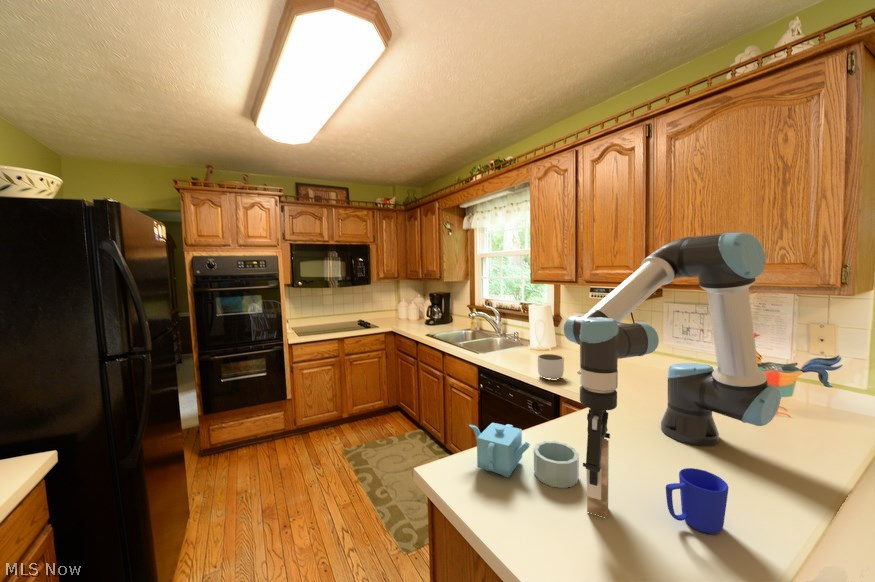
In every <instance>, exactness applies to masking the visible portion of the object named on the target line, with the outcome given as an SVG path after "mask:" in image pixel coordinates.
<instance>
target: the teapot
mask: <svg viewBox="0 0 875 582" xmlns="http://www.w3.org/2000/svg"><path fill="white" fill-rule="evenodd" d="M468 426H469V427H470V428H471V429H472V430H473V432H474V435H475V439H476V456H477V457H476V460H477V462H476V463H477V464H476V466H477V467H478V468H479V469H483V471H485V472H493V473H496V474H499V475H501V476H503V477H504V478H510V477H511V475H512V473H513V472H514V470H515V469H516V467H517V466H518V464H519V463H520V461H521V460H522V458H523V454H524V453H525V452H526V451H527V450H528V449H529V448H530V446H531V444H530V443H529V442H527V441H525V442H524V443H523V429H521V428H518V427H514V425H513V424H508V423H507V424H505V425H504V424H501V423H497V422H496V423H495V422H491V423H490V424H489V425H488V426H487V427H486V428H485V429H484V430H483V431H482V432H481V431H480V429H479V427H478V426H476V425H475V424H469V425H468Z"/></svg>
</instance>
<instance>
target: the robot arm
mask: <svg viewBox="0 0 875 582" xmlns="http://www.w3.org/2000/svg"><path fill="white" fill-rule="evenodd" d="M765 264H766V253H765V250H764V247H763V245H762V243H761V242H760V240H759V239H758V238H757V237H755V236H754V235H753V234H751V233H749V232H723V233H713V234H706V235H705V234H704V235H696V236H686V237H681V238H678V239H675V240H672V241H670V242H669V243H667V244H666V243H665V245H663V246H661V247H660V248H658V249H656V250H654V251H653V252H652V253H650V254H649V255H648V256H646V257H645V258H644V259H643V260H642V261H641V263H640V267H638V269H637V270H635V271H634V272H633V273H632V274H631V275H630V276H628V277H627V278H626V279H624V280H623V281H622V282H621V283H620V284H619V285H618V286H617V287H615V288H614V289H613V290H612V291H611V292H609V293H608V294H607V295H605V297H604V298H602V299H601V300H600V301H599V302H598V303H596V304H595V305H594V306H593V307H591V308H590V309H589V310H587V312H585V313H584V314H583V315H582V316H581V315H573V316H572V315H571V316H570V317H568V318H567V319H566V320H565V322H564V324H563V334H564V337H565V338H566V339H567V340H568V341H569V342H571V343H574V344H577V345H579V362H580V363H579V367H580V368H579V369H578V370H577V371H576V373H577V375H580V376H579V382H580V383H579V384H580V387H579V402H580V404H581V405H583V406H584V407H586V408H588V413H587V416H586V420H587V428H586V429H587V430H586V431H587V443H586V455H585V456H586V457H585V462H583V463H582V467H584V468H585V470H586V497H587V496H589V497H592V498H595V499H599V500H601V466H600V465H601V450H602V439H604V440H608V439H610V438H611V434H610V433H609V432H608V430H609V428H608V420H609V412H607V411H612V410H615V409H616V408H617V407H618V391H617V389H618V384H619V383H618V378H619V376H618V374H619V373H618V360H619V359H626V358H628V359H629V358H633V357H635V358H636V357H643V356H646V355H648V354H653V352H655V351H656V350H657V348H658V347H659V342H660V340H659V334H658V332H657V331H656V329H655V327H653V326H652V325H650V324H648V323H645V322H633V323H629V322H628V323H626V322H623V320H624V319H626V317H627V318H628V316H629V315H630V314H631V313H632V312H634V311H635V310H636V309H637V308H638V307H639V306H640V305H641V304H643V303H644V301H645V300H647V299H648V298H649V297H650V296H651V295H652V294H653V293H655V292H656V291H657V290H658V289H659V288H660V287H661V286H665V285H668V284H671V283H672V282H673V281H674V280H676V279H681V278H697V281H698V286H699V287H700V288H701V289H703V290H704V291H706V294H707V295H706V296H707V301H708V302H707V303H708V308H709V316H710V323H711V324H710V325H711V331H712V337H713V345H714V351H715V357H716V365H717V368H716V369H715V368H714V367H713V366H712V365H710V364H706V363H695V362H694V363H693V362H683V363H682V362H680V363H679V362H678V363H674V364H672V365H669V367H668V369H667V377H666V378H667V407H666V410H665V412H664V414H663V416H662V419H661V421H660V430H661V431H662V433H663V434H664V435H666V436H668V437H670V438H671V439H674V440H676V441H678V442H682V443H685V444H689V445H695V446H705V447H706V446H707V447H709V446H710V447H711V446H714V445H717V444H718V443H719V442H720V434H719V430H718V427H717V426H716V422H715V419H714V418H713V413H716V414H719V415H722V416H725V417H729V418H730V419H734V420H736V421H740V422H742V423H745V424H749V425H752V426H755V427H756V426H757V427H763V426H764V427H765V426H767V425H768V424H770V423H771V422H772V420H773V419H774V418H775V417H776V414H777V413H778V410H779V408H780V404H781V399H782V398H781V397H782V395H781V391H780V390H779V388H777V387H776V386H774V385H772V384H769V383H768V377H767V375H766V374H765V373H764V372H763V371H761V370H760V369H759V363H758V357H757V356H758V355H757V347H756V340H755V339H756V338H755V332H754V331H755V330H754V323H753V314H752V307H751V300H750V299H751V298H750V291H749V288H751V286H753V285H754V284H755V283H756V282H757V281H756V278H758V277H759V276H761V275H762V274H763V272H764V270H765V267H766V266H765Z"/></svg>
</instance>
